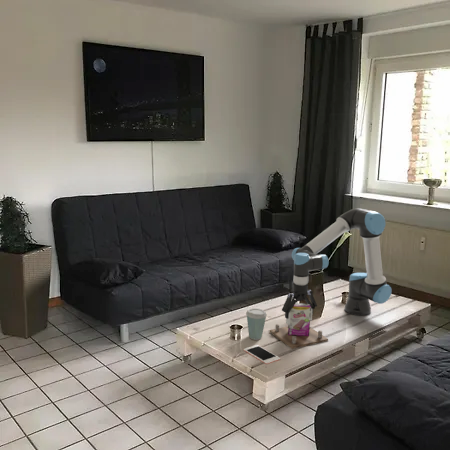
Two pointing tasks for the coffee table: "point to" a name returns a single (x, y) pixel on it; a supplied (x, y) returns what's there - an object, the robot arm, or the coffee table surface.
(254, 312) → the disposable coffee cup
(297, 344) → the pin dock
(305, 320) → the candy bar box
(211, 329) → the coffee table surface
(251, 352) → the cell phone
